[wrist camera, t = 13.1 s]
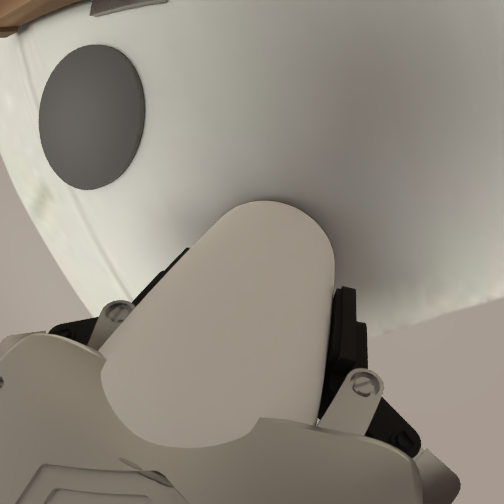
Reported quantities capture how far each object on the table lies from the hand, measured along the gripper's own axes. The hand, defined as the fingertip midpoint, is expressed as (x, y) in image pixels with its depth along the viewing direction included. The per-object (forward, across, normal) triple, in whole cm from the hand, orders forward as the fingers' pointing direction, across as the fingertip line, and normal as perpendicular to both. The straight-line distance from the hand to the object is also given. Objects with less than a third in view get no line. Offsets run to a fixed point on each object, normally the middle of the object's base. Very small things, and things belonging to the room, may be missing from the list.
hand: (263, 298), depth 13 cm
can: (+3, 0, 0) cm, 3 cm away
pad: (+4, +13, -6) cm, 15 cm away
